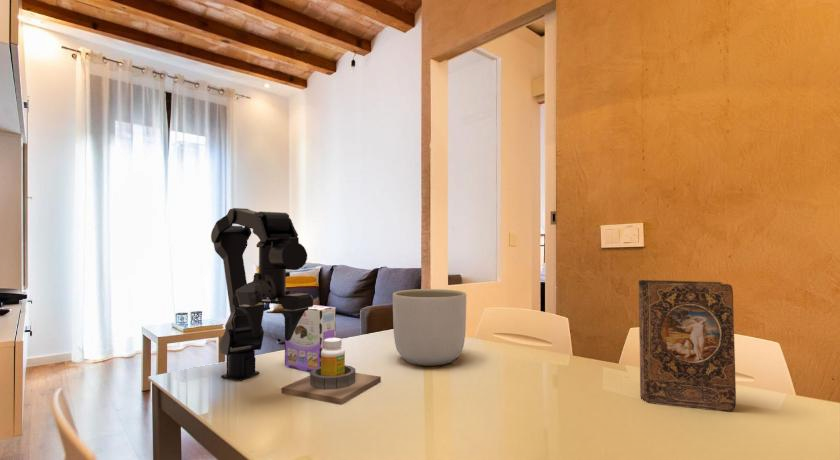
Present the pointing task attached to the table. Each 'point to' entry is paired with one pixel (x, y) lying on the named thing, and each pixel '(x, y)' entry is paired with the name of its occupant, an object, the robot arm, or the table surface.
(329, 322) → the candy box
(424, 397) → the table surface
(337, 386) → the collar holder
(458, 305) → the planter
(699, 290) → the book
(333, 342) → the supplement bottle
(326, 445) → the table surface
